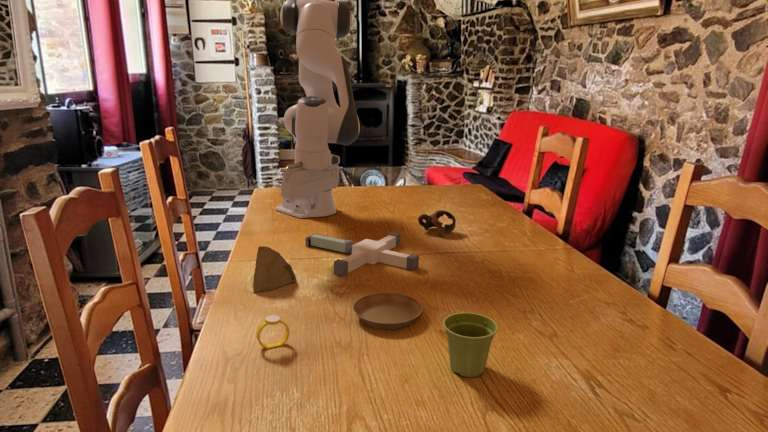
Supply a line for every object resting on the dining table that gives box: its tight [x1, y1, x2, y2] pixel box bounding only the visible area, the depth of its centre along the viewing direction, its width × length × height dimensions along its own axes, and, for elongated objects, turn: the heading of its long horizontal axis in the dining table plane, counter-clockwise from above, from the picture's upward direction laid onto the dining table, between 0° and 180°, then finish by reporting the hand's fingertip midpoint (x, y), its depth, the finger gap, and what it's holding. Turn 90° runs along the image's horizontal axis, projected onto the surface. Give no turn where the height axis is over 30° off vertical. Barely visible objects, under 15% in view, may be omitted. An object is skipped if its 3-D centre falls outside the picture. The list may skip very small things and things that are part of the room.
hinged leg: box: [310, 233, 354, 255], centre depth 149 cm, size 14×2×3 cm, turn 61°
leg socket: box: [305, 233, 326, 248], centre depth 153 cm, size 5×5×3 cm
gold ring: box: [255, 314, 291, 350], centre depth 98 cm, size 6×3×6 cm, turn 115°
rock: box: [252, 245, 298, 294], centre depth 124 cm, size 11×9×10 cm
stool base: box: [333, 231, 420, 277], centre depth 141 cm, size 20×29×4 cm
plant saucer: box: [352, 292, 423, 330], centre depth 110 cm, size 15×15×3 cm
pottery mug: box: [417, 209, 457, 238], centre depth 166 cm, size 12×10×8 cm
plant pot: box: [442, 311, 499, 378], centre depth 91 cm, size 9×9×9 cm
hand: (310, 209), depth 142 cm, fingers closed
